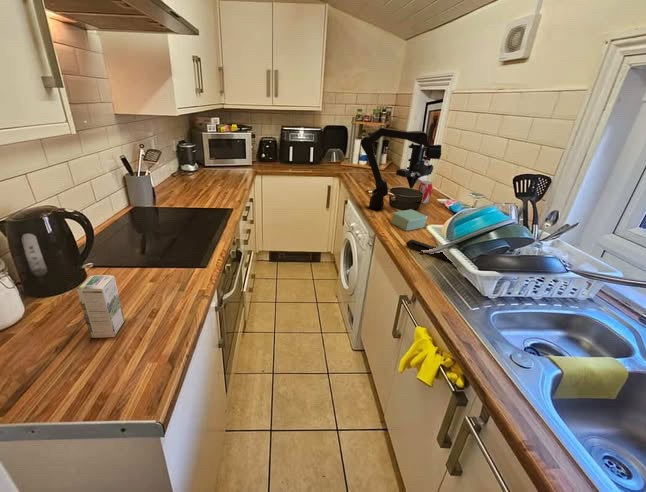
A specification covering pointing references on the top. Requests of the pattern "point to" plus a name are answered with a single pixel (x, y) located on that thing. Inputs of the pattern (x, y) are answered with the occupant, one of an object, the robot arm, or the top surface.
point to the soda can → (426, 191)
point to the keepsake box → (408, 223)
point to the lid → (410, 215)
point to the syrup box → (101, 306)
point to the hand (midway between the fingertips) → (411, 188)
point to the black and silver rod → (425, 248)
